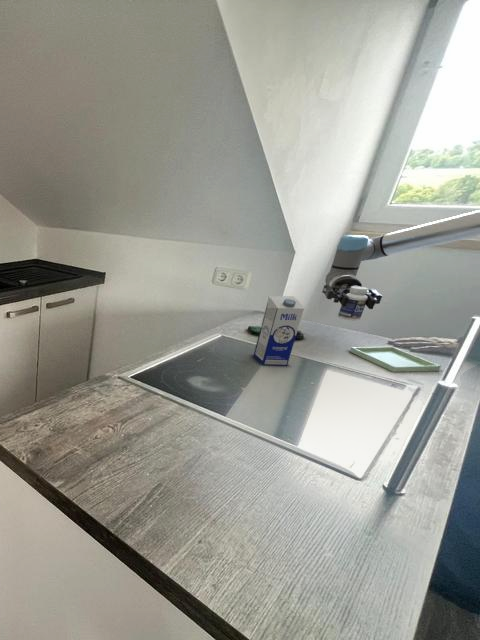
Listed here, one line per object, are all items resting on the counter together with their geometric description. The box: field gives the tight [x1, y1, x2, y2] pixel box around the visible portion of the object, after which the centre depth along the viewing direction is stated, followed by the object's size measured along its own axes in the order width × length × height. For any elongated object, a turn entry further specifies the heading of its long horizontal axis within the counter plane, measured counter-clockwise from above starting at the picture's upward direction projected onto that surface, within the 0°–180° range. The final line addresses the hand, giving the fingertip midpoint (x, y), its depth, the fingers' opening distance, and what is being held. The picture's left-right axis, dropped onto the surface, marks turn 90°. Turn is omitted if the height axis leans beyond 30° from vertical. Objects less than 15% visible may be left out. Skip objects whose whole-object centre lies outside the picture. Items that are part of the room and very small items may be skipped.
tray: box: [349, 345, 442, 373], centre depth 119 cm, size 15×13×2 cm
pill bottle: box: [337, 286, 369, 322], centre depth 119 cm, size 5×5×10 cm
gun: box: [247, 325, 305, 341], centre depth 141 cm, size 16×2×10 cm
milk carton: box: [253, 295, 305, 366], centre depth 117 cm, size 7×7×20 cm
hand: (358, 303), depth 114 cm, fingers closed on pill bottle, 5 cm apart
